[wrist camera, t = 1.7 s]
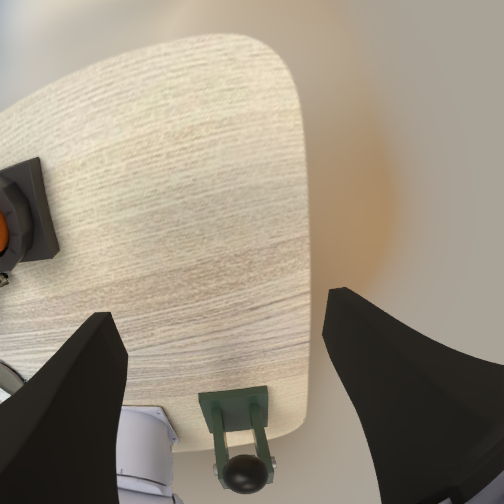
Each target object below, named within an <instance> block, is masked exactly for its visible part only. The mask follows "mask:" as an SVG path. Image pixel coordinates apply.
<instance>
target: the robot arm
mask: <svg viewBox="0 0 504 504" xmlns="http://www.w3.org/2000/svg"><path fill="white" fill-rule="evenodd" d="M322 336H323V339H324V342H325V345H326V348H327V351H328V354H329V356H330V359H331V361H332V363H333V365H334V367H335V369H336V371H337V373H338V375H339V377H340V379H341V381H342V383H343V385H344V387H345V389H346V391H347V393H348V395H349V397H350V399H351V401H352V403H353V405H354V407H355V409H356V411H357V414H358V416H359V419H360V421H361V424H362V427H363V430H364V433H365V436H366V439H367V442H368V446H369V449H370V452H371V456H372V459H373V463H374V467H375V471H376V476H377V480H378V485H379V490H380V496H381V502H382V504H504V365H500V364H496V363H492V362H488V361H485V360H482V359H478V358H475V357H473V356H470V355H467V354H464V353H462V352H459V351H456V350H454V349H452V348H449V347H447V346H445V345H443V344H441V343H439V342H437V341H434V340H432V339H430V338H428V337H427V336H424V335H423V334H421V333H419V332H417V331H416V330H414V329H412V328H410V327H409V326H407V325H405V324H404V323H402V322H400V321H399V320H397V319H395V318H394V317H392V316H390V315H389V314H388V313H386V312H384V311H383V310H381V309H380V308H378V307H377V306H375V305H374V304H372V303H371V302H369V301H368V300H366V299H364V298H363V297H361V296H360V295H358V294H356V293H355V292H353V291H352V290H350V289H348V288H346V287H342V288H336V289H330V290H329V294H328V301H327V308H326V314H325V320H324V326H323V332H322ZM127 367H128V353H127V351H126V349H125V347H124V344H123V342H122V340H121V337H120V335H119V333H118V330H117V328H116V325H115V323H114V320H113V318H112V315H111V312H95V313H94V314H92V315H91V316H90V317H89V318H88V319H87V320H86V321H85V322H84V323H83V324H82V325H81V326H80V327H79V328H78V329H77V330H76V332H75V333H74V334H73V335H72V336H71V337H70V338H69V339H68V340H67V341H66V342H65V343H64V344H63V346H62V347H61V348H60V349H59V350H58V351H57V352H56V353H55V354H54V355H53V356H52V357H51V358H50V359H49V360H48V361H47V362H46V363H45V364H44V365H43V367H42V368H41V369H40V370H39V371H38V372H37V373H36V374H35V375H34V376H33V377H32V378H31V379H30V380H28V381H27V382H26V383H25V384H24V385H23V386H22V387H21V388H20V389H19V390H17V391H16V392H15V393H14V394H13V395H12V396H10V397H9V398H8V399H6V400H5V401H4V402H2V403H1V404H0V504H184V503H183V501H182V500H181V498H179V496H178V495H177V494H174V493H172V487H170V486H171V484H172V481H173V455H172V454H173V443H179V442H180V440H179V438H178V436H177V435H176V433H175V431H174V430H173V428H172V426H171V424H170V422H169V421H168V419H167V417H166V415H165V413H164V412H163V410H162V408H160V407H144V406H122V403H123V397H124V392H125V386H126V381H127Z"/></svg>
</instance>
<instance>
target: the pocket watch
mask: <svg viewBox="0 0 504 504" xmlns="http://www.w3.org/2000/svg"><path fill="white" fill-rule="evenodd" d="M23 385H24V383H23V382H22V380H21V379H20V378H19V377H18V376H17V375H16V374H15V373H14V372H13V371H12V370H11V369H9V368H8V367H6V366H5V365H3V364H1V363H0V388H2V389H3V390H4V391H6V392H7V393H9V394H10V395H13V394H14V393H15V392H16V391H17V390H19V389H20V388H21V387H22V386H23Z"/></svg>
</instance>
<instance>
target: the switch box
mask: <svg viewBox="0 0 504 504" xmlns="http://www.w3.org/2000/svg"><path fill="white" fill-rule="evenodd" d="M0 210H1V212H2V213H3V215H4V217H5V219H6V222H7V226H8V231H9V238H8V243H7V245H6V247H5V249H4V250H2V251H1V252H0V272H4V271H12V270H13V269H14V267H15V266H16V265H17V264H18V263H21V262H29V261H37V260H45V259H53V258H54V257H55V255H56V254H57V253H58V252H59V251H60V250H59V246H58V243H57V240H56V236H55V232H54V229H53V225H52V221H51V217H50V213H49V209H48V204H47V200H46V195H45V190H44V185H43V180H42V174H41V168H40V161H39V157H36V158H33V159H30V160H27V161H24V162H21V163H18V164H16V165H13V166H10V167H8V168H5V169H2V170H0Z"/></svg>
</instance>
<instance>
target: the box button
mask: <svg viewBox="0 0 504 504" xmlns="http://www.w3.org/2000/svg"><path fill="white" fill-rule="evenodd" d="M8 238H9V231H8V226H7V222H6V219H5V217H4V215H3V213H2V212H1V210H0V252H1V251H2V250H4V249H5V247H6V245H7V243H8Z"/></svg>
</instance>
